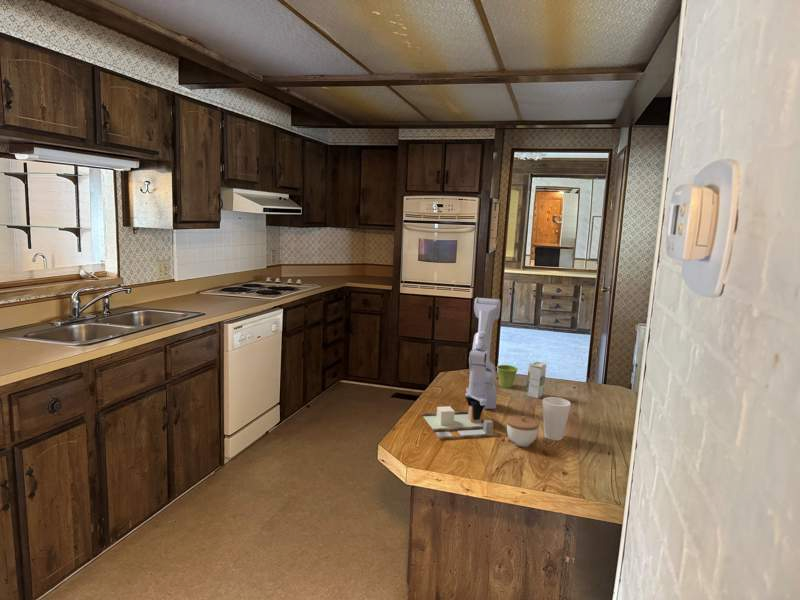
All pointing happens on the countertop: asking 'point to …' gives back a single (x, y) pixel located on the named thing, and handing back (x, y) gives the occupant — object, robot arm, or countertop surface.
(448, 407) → the cream cube
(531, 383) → the syrup box
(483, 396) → the robot arm
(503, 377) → the plant pot
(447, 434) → the lane rails
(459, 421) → the green flat panel
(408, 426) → the countertop surface
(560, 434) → the foam cup
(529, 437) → the lidded jar
